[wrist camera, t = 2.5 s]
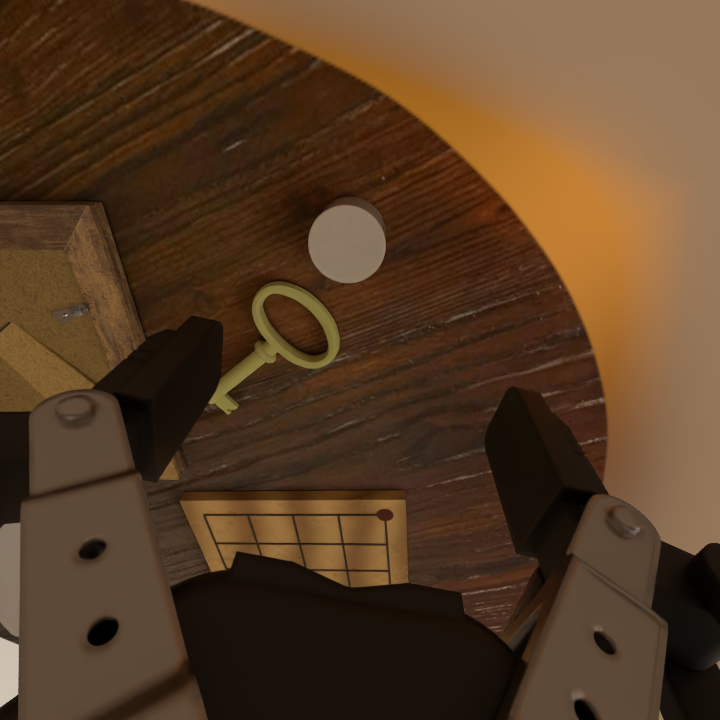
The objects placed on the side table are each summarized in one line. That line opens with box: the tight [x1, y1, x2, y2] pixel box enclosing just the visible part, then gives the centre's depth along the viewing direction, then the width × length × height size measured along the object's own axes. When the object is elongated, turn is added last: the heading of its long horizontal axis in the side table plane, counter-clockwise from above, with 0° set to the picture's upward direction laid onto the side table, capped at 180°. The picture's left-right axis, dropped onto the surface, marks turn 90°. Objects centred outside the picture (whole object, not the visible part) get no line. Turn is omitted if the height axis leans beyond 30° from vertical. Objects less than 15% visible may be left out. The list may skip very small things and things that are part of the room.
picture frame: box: [0, 202, 186, 480], centre depth 32 cm, size 19×2×24 cm
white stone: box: [308, 197, 386, 283], centre depth 25 cm, size 5×5×3 cm
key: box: [209, 281, 340, 415], centre depth 30 cm, size 7×12×2 cm, turn 148°
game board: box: [180, 490, 409, 587], centre depth 44 cm, size 22×22×1 cm
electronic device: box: [0, 523, 20, 637], centre depth 47 cm, size 29×20×2 cm
